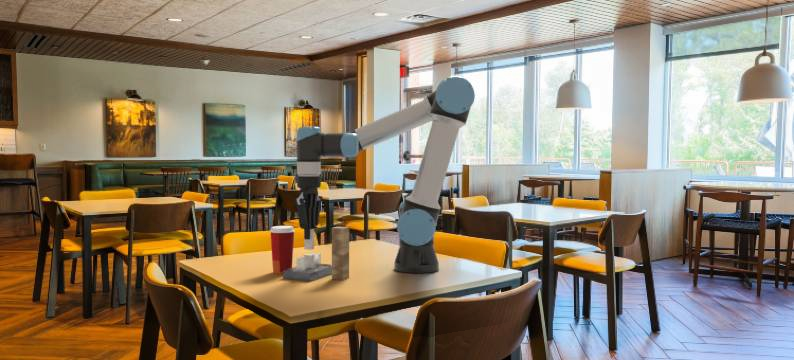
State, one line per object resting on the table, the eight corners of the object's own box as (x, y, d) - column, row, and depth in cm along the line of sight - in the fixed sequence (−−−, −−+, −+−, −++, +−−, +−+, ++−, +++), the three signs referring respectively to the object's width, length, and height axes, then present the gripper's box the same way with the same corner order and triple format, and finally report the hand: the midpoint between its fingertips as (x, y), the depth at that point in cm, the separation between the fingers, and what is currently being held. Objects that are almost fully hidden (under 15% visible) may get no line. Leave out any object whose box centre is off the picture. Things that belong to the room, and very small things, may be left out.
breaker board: (333, 273, 192) (333, 253, 192) (310, 281, 179) (310, 260, 179) (307, 270, 196) (307, 251, 196) (283, 278, 183) (283, 257, 183)
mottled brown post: (349, 277, 185) (349, 227, 185) (342, 280, 182) (343, 228, 181) (338, 276, 187) (338, 226, 186) (331, 278, 183) (331, 227, 183)
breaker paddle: (314, 267, 188) (314, 254, 188) (311, 267, 186) (311, 255, 186) (306, 266, 189) (306, 253, 189) (303, 267, 188) (303, 254, 187)
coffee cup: (297, 270, 197) (297, 225, 196) (291, 275, 189) (291, 228, 188) (273, 269, 198) (273, 225, 197) (265, 274, 189) (265, 228, 189)
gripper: (309, 174, 194) (310, 245, 195) (287, 175, 182) (287, 251, 183) (329, 175, 191) (329, 247, 192) (307, 176, 179) (308, 253, 180)
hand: (309, 249), depth 187 cm, fingers closed
